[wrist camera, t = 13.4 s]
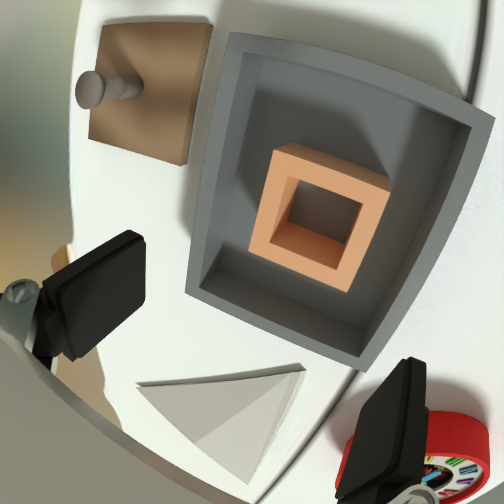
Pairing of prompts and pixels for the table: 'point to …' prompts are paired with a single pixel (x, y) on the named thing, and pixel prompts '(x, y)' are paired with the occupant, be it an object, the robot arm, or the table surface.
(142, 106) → the stake base
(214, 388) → the paper plane
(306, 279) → the tray
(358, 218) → the ring
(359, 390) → the table surface
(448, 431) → the toy clock
